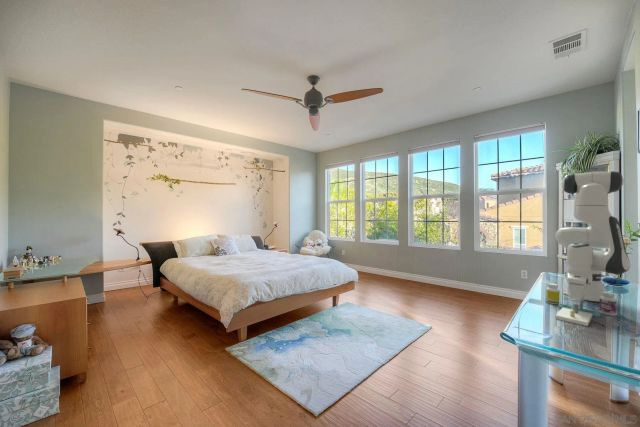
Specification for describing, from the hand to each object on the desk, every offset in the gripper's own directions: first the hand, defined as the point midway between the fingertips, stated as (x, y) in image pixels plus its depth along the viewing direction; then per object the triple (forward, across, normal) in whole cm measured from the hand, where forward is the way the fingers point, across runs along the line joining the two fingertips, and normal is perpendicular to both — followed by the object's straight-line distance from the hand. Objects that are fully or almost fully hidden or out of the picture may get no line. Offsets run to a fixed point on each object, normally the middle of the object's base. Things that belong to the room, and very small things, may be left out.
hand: (578, 306), depth 126 cm
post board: (+2, +13, 0) cm, 13 cm away
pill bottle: (+3, -7, +9) cm, 12 cm away
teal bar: (+2, 0, 0) cm, 2 cm away
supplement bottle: (+2, -6, -10) cm, 12 cm away
